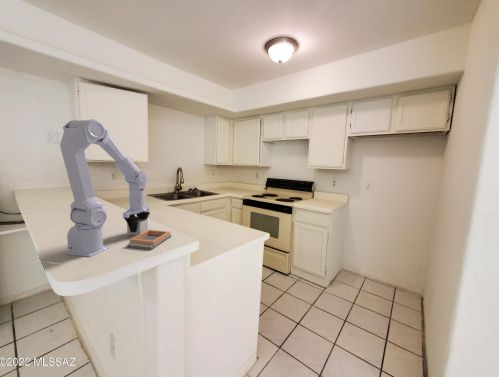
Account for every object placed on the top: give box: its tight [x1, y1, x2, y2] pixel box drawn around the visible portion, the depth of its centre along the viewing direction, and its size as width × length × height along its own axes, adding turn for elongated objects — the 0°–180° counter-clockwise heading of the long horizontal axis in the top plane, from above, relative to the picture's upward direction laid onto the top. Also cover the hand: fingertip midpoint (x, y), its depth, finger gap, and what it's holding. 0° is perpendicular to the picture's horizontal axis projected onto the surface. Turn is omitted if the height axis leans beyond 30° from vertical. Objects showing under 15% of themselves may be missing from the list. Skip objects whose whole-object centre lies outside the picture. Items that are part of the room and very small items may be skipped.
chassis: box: [127, 229, 172, 251], centre depth 82 cm, size 10×14×3 cm
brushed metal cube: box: [126, 218, 149, 237], centre depth 89 cm, size 6×5×6 cm
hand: (137, 230), depth 89 cm, fingers closed on brushed metal cube, 5 cm apart
